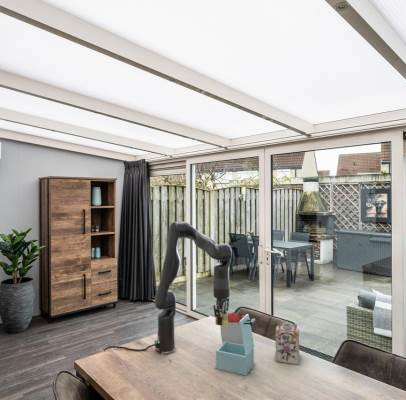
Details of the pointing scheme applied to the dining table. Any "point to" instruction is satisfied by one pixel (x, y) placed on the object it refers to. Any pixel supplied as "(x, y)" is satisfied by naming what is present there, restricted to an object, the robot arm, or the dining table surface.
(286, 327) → the decorative jar
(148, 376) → the dining table surface
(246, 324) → the freezer lid
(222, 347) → the box
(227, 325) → the citrus juicer
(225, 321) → the block
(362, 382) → the dining table surface
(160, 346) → the robot arm
